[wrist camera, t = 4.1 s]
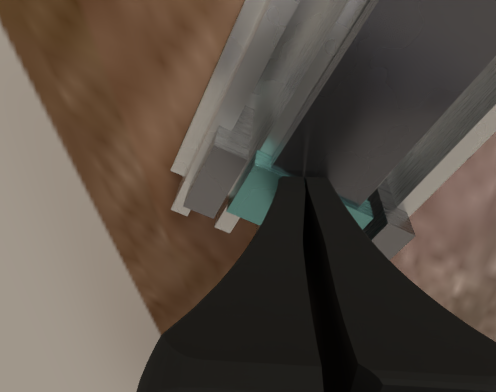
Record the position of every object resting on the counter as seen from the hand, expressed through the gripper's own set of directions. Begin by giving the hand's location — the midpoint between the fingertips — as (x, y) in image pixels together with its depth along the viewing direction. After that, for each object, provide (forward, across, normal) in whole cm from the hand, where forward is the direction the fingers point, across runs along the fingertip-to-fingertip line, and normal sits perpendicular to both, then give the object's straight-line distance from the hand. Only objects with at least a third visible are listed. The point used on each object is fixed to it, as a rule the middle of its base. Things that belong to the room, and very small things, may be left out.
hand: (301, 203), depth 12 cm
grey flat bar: (+1, -2, -4) cm, 4 cm away
